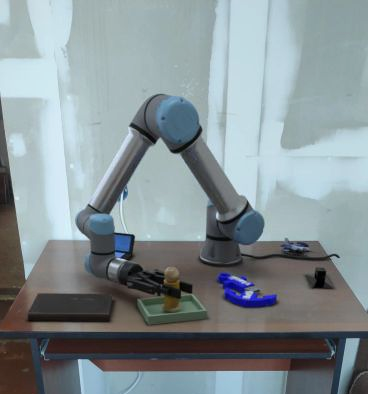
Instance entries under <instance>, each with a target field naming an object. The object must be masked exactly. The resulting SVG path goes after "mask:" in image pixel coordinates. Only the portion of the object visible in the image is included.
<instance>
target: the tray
mask: <svg viewBox="0 0 368 394" xmlns="http://www.w3.org/2000/svg"><path fill="white" fill-rule="evenodd" d="M163 304H164V296H155V297H154V296H153V297H144V298H137V308H138V310H139V312H140V313H141V315H142V317H143V318H144V321H145V322H146V324H147V325H148V326H150V325H160V324H169V323H178V322H189V321H198V320H207V318H208V317H207V315H208V310H207V309H206V307H204V305H203V304H202V303H201V302H200V301H199V299H198V298H197V297H196V296H195V295H194V293H192V294H189V293H185V294H181V299H179V304H180V305H181V309H180V310H179V311H175V312H168V311H165V310H163V309H162V305H163Z"/></svg>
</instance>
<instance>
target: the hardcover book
mask: <svg viewBox="0 0 368 394" xmlns="http://www.w3.org/2000/svg"><path fill="white" fill-rule="evenodd" d="M113 298H114V293H65V292H64V293H62V292H61V293H60V292H59V293H58V292H57V293H56V292H55V293H54V292H52V293H51V292H50V293H49V292H48V293H47V292H46V293H45V292H38V293H36V296H35V297H34V300H33V302H32V304H31V306H30V308H29V310H28V312H27V320H28V321H31V322H36V321H37V322H110V319H111V315H112V310H113V309H112V308H113V303H114V299H113Z"/></svg>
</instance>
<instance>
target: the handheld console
mask: <svg viewBox="0 0 368 394" xmlns="http://www.w3.org/2000/svg"><path fill="white" fill-rule="evenodd" d="M135 241H136V235H135V234H133V233H124V232H115V257H117V258H120V259H124V260H128V261H129V260H131V258H132V257H133V256H134V253H133V252H134V247H135Z"/></svg>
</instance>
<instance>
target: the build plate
mask: <svg viewBox="0 0 368 394" xmlns="http://www.w3.org/2000/svg"><path fill="white" fill-rule="evenodd" d="M305 277H306V279H307V281H308V283H309V287H310V288H311V289H317V290H318V289H319V290H321V289H323V290H333V289H334V287H333V285H332V283H331V282H330V279H329V278H328V275H327V269H326V268H325V267H324V266H323V267H320V266H319V267H317V266H316V267H315V270H314V274H305Z"/></svg>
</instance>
